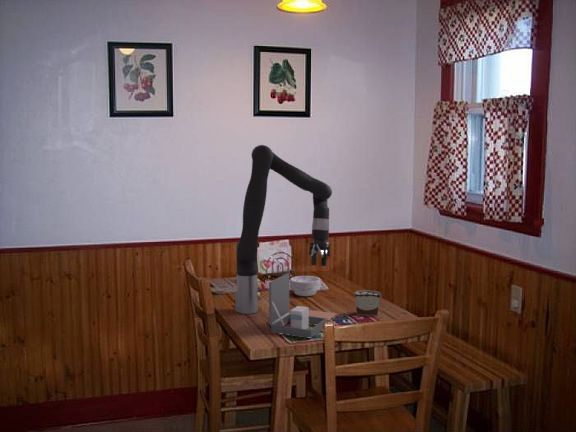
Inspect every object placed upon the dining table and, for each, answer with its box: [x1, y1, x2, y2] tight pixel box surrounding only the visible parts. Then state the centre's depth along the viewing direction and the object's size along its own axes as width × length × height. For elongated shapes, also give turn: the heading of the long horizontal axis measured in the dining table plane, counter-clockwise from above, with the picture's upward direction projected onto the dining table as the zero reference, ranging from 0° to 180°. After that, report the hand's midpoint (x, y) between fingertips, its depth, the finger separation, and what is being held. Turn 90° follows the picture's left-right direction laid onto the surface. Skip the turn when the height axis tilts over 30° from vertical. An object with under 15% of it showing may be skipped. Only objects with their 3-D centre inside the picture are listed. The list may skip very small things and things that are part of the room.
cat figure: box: [257, 278, 266, 300], centre depth 327 cm, size 10×9×25 cm
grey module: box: [290, 305, 310, 329], centre depth 269 cm, size 5×7×9 cm
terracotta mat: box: [309, 309, 338, 321], centre depth 286 cm, size 13×16×1 cm
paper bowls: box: [289, 275, 322, 297], centre depth 324 cm, size 15×15×8 cm
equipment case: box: [268, 272, 328, 337], centre depth 268 cm, size 18×18×21 cm
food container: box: [353, 289, 382, 316], centre depth 292 cm, size 12×6×10 cm, turn 84°
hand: (318, 265), depth 289 cm, fingers open, 8 cm apart
